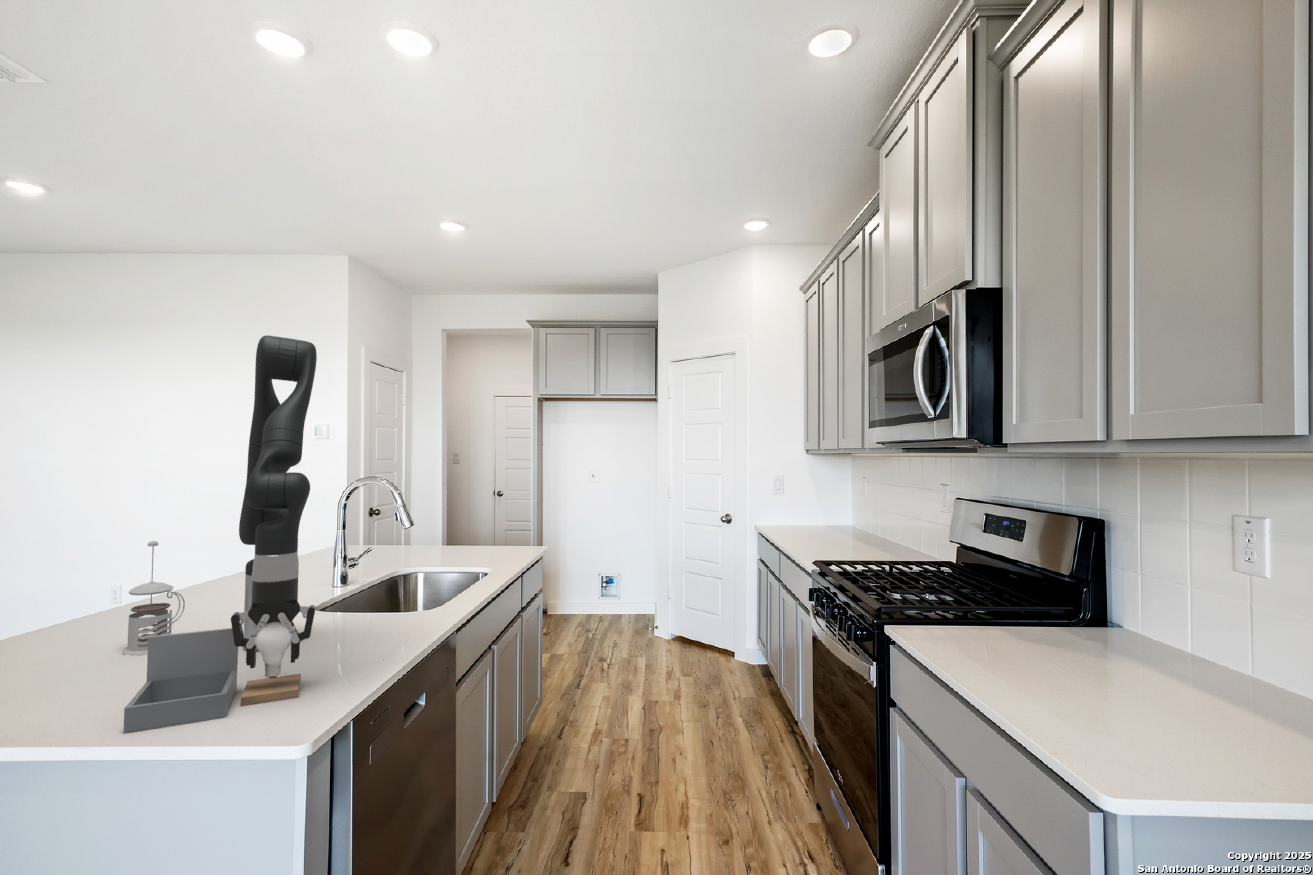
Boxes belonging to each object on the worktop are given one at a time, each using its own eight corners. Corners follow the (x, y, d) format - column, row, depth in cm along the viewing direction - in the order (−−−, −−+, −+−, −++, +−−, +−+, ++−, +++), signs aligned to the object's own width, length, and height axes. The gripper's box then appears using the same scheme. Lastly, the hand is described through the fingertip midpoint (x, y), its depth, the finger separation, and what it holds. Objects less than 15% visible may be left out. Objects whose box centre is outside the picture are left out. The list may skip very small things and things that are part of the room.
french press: (111, 652, 137) (115, 542, 138) (168, 638, 148) (172, 536, 149) (137, 658, 133) (141, 545, 134) (194, 643, 144) (197, 538, 145)
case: (146, 702, 110) (149, 636, 111) (236, 689, 116) (238, 627, 117) (123, 733, 98) (126, 658, 98) (225, 717, 104) (227, 647, 105)
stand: (247, 688, 117) (247, 680, 117) (300, 681, 121) (301, 673, 121) (240, 705, 109) (240, 697, 109) (298, 697, 113) (298, 689, 113)
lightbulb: (264, 671, 118) (266, 615, 118) (298, 671, 119) (300, 615, 119) (245, 684, 112) (247, 624, 112) (281, 683, 112) (283, 624, 113)
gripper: (319, 569, 123) (316, 653, 122) (233, 575, 116) (230, 663, 115) (318, 576, 116) (315, 664, 115) (227, 583, 109) (224, 676, 109)
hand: (273, 663), depth 115 cm, fingers closed on lightbulb, 6 cm apart
